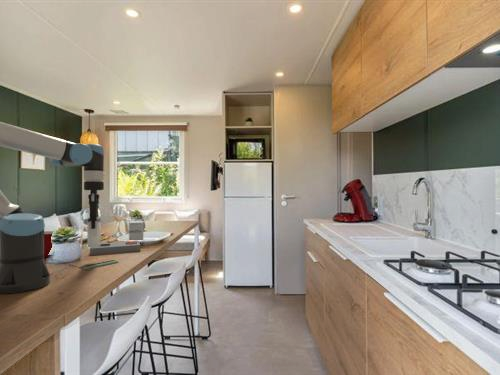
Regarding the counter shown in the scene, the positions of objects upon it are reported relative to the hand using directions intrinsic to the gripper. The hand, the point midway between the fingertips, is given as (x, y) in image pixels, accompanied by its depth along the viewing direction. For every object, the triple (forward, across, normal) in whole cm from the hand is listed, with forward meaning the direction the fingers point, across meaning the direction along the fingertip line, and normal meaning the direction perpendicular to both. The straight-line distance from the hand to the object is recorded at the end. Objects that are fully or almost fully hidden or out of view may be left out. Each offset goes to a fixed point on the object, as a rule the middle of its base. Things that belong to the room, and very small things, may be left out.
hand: (93, 235), depth 126 cm
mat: (+12, 0, 0) cm, 12 cm away
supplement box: (+12, +39, -19) cm, 45 cm away
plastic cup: (+12, +20, +21) cm, 32 cm away
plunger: (+11, +19, -16) cm, 27 cm away
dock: (+12, +19, -8) cm, 24 cm away
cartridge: (+5, 0, 0) cm, 5 cm away
